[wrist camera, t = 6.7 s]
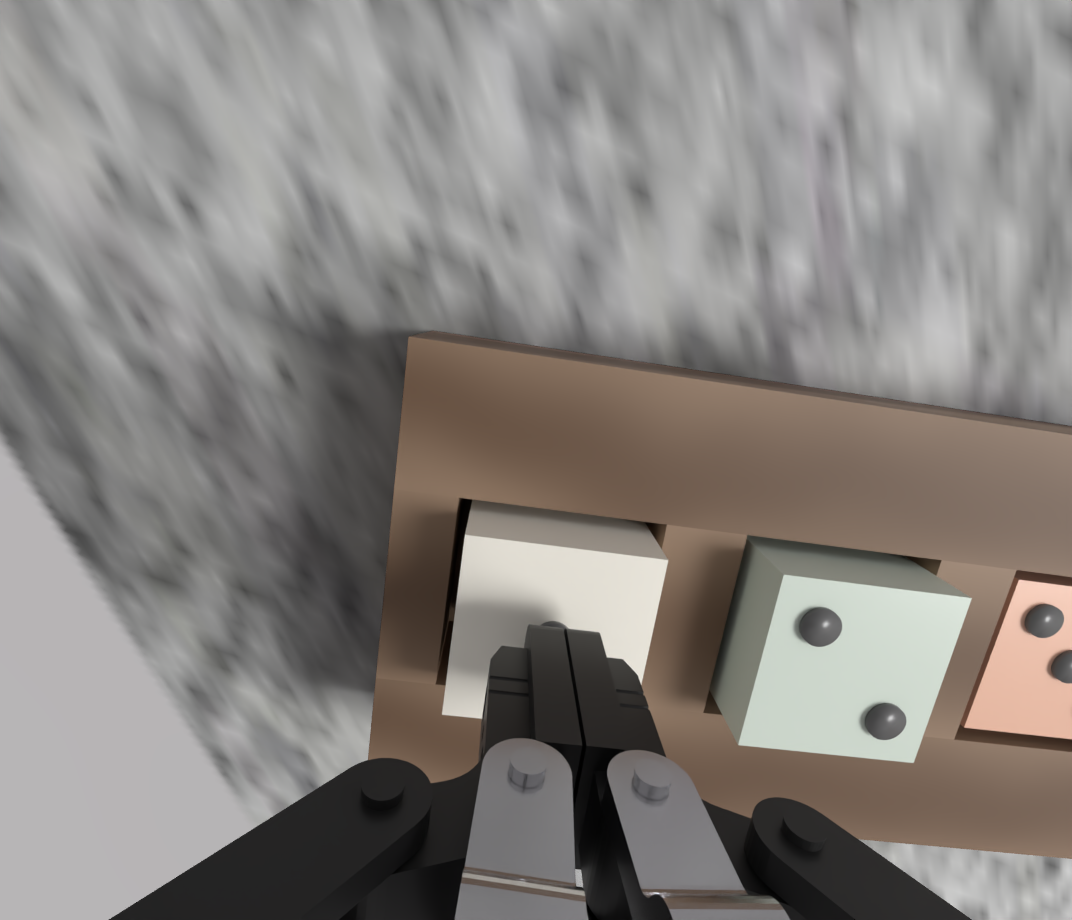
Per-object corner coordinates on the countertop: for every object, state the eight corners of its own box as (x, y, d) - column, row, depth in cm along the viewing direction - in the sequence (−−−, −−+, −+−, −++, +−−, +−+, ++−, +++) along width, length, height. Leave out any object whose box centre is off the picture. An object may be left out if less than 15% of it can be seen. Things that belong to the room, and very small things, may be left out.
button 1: (473, 492, 15) (464, 536, 12) (639, 514, 16) (670, 562, 13) (454, 643, 16) (441, 718, 13) (610, 660, 17) (631, 738, 14)
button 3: (937, 536, 18) (1023, 582, 15) (1071, 554, 18) (1182, 602, 15) (895, 663, 19) (967, 731, 16) (1022, 678, 19) (1117, 747, 16)
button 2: (734, 526, 16) (787, 577, 13) (889, 546, 16) (977, 601, 13) (699, 670, 17) (740, 750, 14) (845, 686, 17) (917, 767, 14)
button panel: (432, 331, 17) (408, 336, 13) (1143, 436, 18) (1311, 470, 14) (394, 698, 20) (364, 793, 16) (1013, 762, 21) (1125, 863, 17)
